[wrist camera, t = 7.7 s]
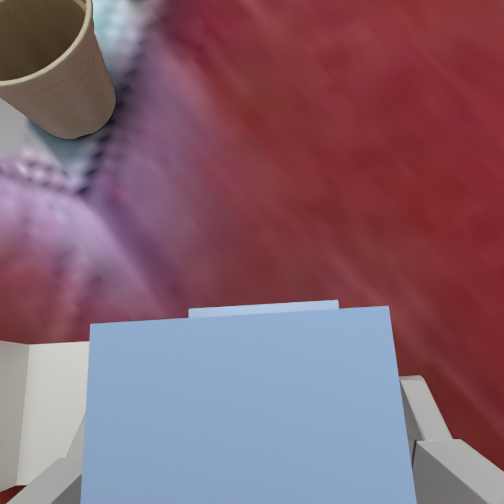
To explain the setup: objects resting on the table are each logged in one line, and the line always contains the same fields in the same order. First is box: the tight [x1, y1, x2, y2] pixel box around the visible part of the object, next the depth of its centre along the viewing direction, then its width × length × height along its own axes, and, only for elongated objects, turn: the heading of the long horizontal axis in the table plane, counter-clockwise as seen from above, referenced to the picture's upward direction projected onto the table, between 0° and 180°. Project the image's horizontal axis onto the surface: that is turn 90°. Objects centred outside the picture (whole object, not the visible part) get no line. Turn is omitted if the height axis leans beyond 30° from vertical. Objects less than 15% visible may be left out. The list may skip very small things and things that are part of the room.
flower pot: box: [0, 0, 116, 139], centre depth 29 cm, size 9×9×9 cm
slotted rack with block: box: [0, 300, 339, 492], centre depth 24 cm, size 23×9×6 cm, turn 93°
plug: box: [80, 306, 417, 504], centre depth 10 cm, size 4×4×10 cm
